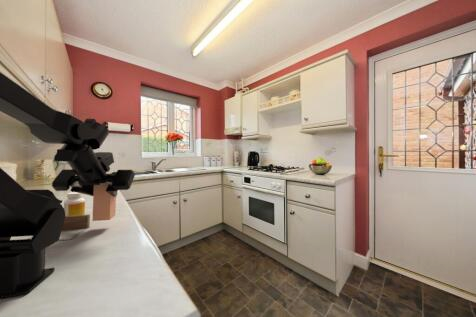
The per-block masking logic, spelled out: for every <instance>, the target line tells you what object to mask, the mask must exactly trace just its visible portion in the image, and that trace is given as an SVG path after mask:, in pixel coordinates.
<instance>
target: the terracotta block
mask: <svg viewBox="0 0 476 317" xmlns="http://www.w3.org/2000/svg"><path fill="white" fill-rule="evenodd" d="M107 187H108V183H107V182H106V184H100V185H94V192H93V196H92V197H93V198H92V219H91V220H92V222H97V221H99V222H101V221H110V220H111V219H113V218H114V217H115V216H116V210H117V209H116V207H117V206H116V204H117V196H116V197H114V196H112V195H111V194H109V193H108V192H106V189H107Z"/></svg>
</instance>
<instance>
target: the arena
mask: <svg viewBox="0 0 476 317" xmlns="http://www.w3.org/2000/svg"><path fill="white" fill-rule="evenodd" d="M90 218H91V216H90V214H85V215H73V216H65V220H64V224H63V227H62V231H61V234H60V238H59V241H58V242H60V241H70V240H73V239H75V237H77V236H78V235H80V234H82V233H83V232H84V231H86V230H87V229H89V228H90V227H91V226H90Z"/></svg>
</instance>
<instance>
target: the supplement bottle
mask: <svg viewBox="0 0 476 317" xmlns="http://www.w3.org/2000/svg"><path fill="white" fill-rule="evenodd" d="M83 195H84V194H82V193H77V192H68V193H66V198H67V199H66V200H64V202H63V208H64V210H65V216H73V215H86V213H85V212H86V199H85V198H84V197H83Z"/></svg>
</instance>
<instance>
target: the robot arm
mask: <svg viewBox="0 0 476 317" xmlns="http://www.w3.org/2000/svg"><path fill="white" fill-rule="evenodd" d="M0 112H1V113H3V114H5V115H6V116H9V117H11V118H13V119H15V120H16V121H18V122H20V123H22V124H24V125H25V126H27V127H28V130H29V133H30V134H31V135H33V136H34V137H35V138H37V139H38V140H40V141H41V142H43V143H44V144H51V145H52V144H53V145H62V146H61V148H60V149H59V148H58V149H57V150H56V154H55V155H54V157H53V161H54V162H66V163H67V164H68V165H69V167H70V168H71V169H70V168H69V169H62V170H61V171H60V172H59V173H58V174H57V176H56V177H55V178H54V180H52V182H51V187H52V188H53V189H54V190H55V191H57V192H60V191H61V192H62V191H63V192H65V191H68V190H69V191H70V193H72V192H77V193H82V194H83V195H87V196H90V197H93V192H94V185H100V184H106V182H107V183H108V187H107V189H106V192H108V193H109V194H111V195H112V196H114V197H116V198H117V197H118V191H128V190H130V189H131V187H132V184H133V181H134V179H135V177H136V174H135V171H134V170H133V169H118V170H117V171H113V172H111V173H109V171H110V170H111V167H110V166H111V165H112V164H114V163H115V160H114V154H113V152H111V151H109V152H107V151H106V152H103V151H102V152H101V151H97V152H95V150H98V149H100V148H101V147H102V145H103V143H104V142H105V141H106V139H107V138H108V136H109V134H110V132H109V128H107V127H106V126H105V125H103V124H102V123H100V122H97V120H96V118H85V120H84V122H83V120H82V119H80V118H78V117H76V116H74V115H73V114H69V113H66V112H63V111H60V110H57V109H55V108H52V107H51V106H49V105H47V103H45V102H43V100H41V99H39V98H38V97H36V96H35V95H34V94H32V93H31V92H29V91H28V90H27V89H25V88H24V87H22V86H21V85H19V83H16V82H15V81H14V80H12V79H11V78H10V77H8V76H6V75H5V74H4V73H2V72H1V71H0ZM61 203H63V200H61V199H59V198H57V197H56V195H55V193H54V192H53V191H52V190H50V189H25V187H23V186H22V185H21V184H20V183H19V182H18V181H17V180H16V179H14V178H13V177H12V176H11V175H10V174H8V173H7V172H6V171H5V170H4V169H2V167H0V299H4V298H9V297H17V296H22V295H26V294H29V293H30V292H31V291H32V290H33V289H34V288H36V287H37V286H39V285H40V283H42V282H43V281H44V280H45V279H47V277H49V276H50V275H51V274H53V273H54V272H55V267H50V268H49V267H48V268H45V267H46V248H48V247H50V246H52V245H54V244H55V243H58V242H60V241H59V238H60V234H61V231H63V230H62V227H63V224H64V220H65V210H64V205H63V204H61ZM16 237H31V238H23V239H21V238H20V239H11V238H16Z"/></svg>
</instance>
